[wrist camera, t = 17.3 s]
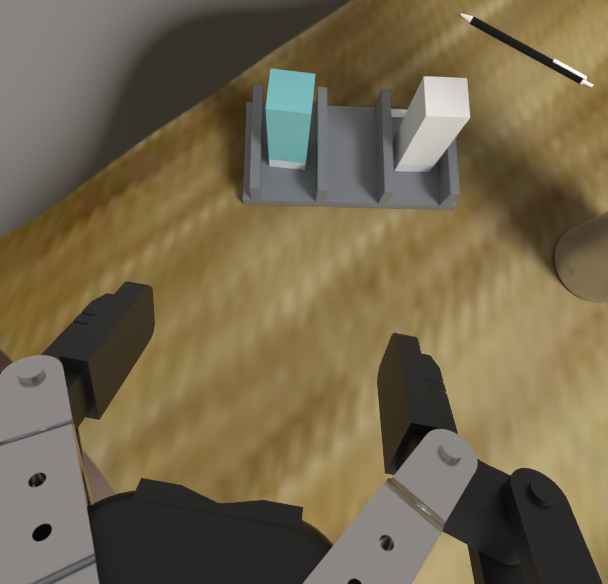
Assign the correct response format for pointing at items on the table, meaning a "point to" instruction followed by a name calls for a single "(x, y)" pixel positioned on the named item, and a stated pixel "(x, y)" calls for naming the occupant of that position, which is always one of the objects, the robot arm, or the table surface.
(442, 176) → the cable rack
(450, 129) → the white rectangular block
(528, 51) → the pen
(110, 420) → the table surface
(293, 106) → the teal plug
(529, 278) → the table surface
